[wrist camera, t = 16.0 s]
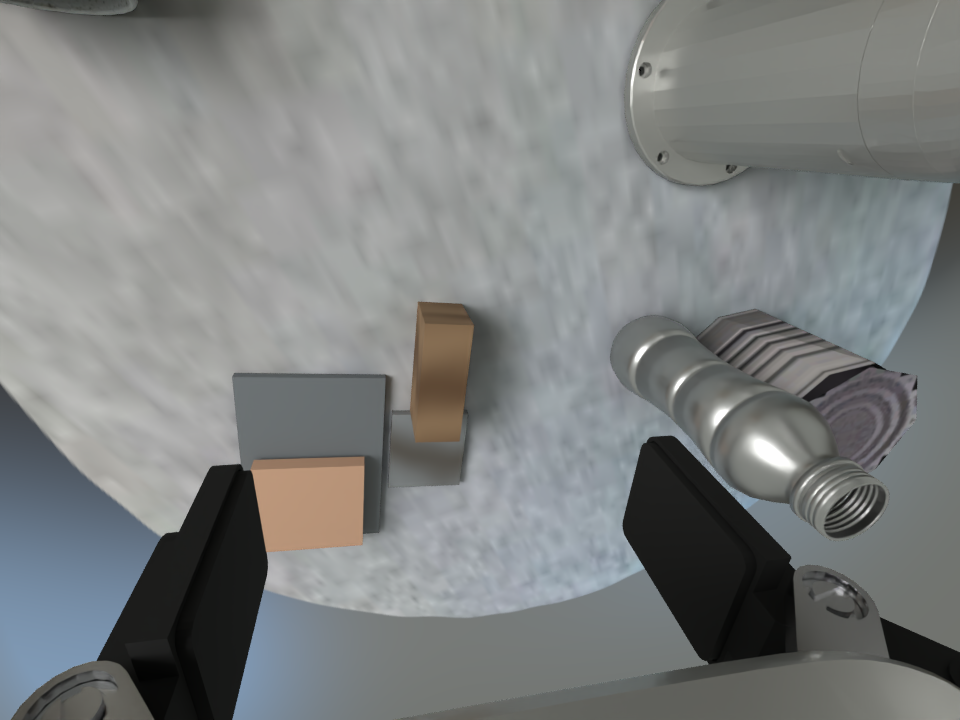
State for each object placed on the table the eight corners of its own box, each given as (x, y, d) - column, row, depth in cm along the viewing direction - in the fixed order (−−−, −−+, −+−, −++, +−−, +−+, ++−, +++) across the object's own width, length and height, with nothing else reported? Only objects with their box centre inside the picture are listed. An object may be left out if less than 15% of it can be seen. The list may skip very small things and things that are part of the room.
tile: (364, 465, 37) (362, 544, 40) (364, 453, 38) (362, 530, 41) (250, 469, 35) (257, 552, 38) (254, 456, 36) (261, 537, 39)
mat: (385, 374, 36) (385, 378, 36) (378, 527, 42) (379, 532, 42) (234, 373, 34) (232, 377, 33) (250, 536, 40) (248, 541, 39)
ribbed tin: (807, 314, 43) (954, 374, 32) (757, 423, 47) (871, 508, 36) (699, 301, 40) (822, 363, 29) (656, 419, 44) (749, 510, 33)
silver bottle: (629, 294, 38) (862, 436, 20) (689, 326, 40) (942, 477, 23) (586, 363, 40) (765, 548, 22) (645, 389, 42) (849, 574, 25)
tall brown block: (398, 300, 34) (402, 322, 30) (480, 304, 36) (494, 326, 32) (388, 482, 40) (390, 520, 36) (457, 479, 42) (467, 515, 38)
